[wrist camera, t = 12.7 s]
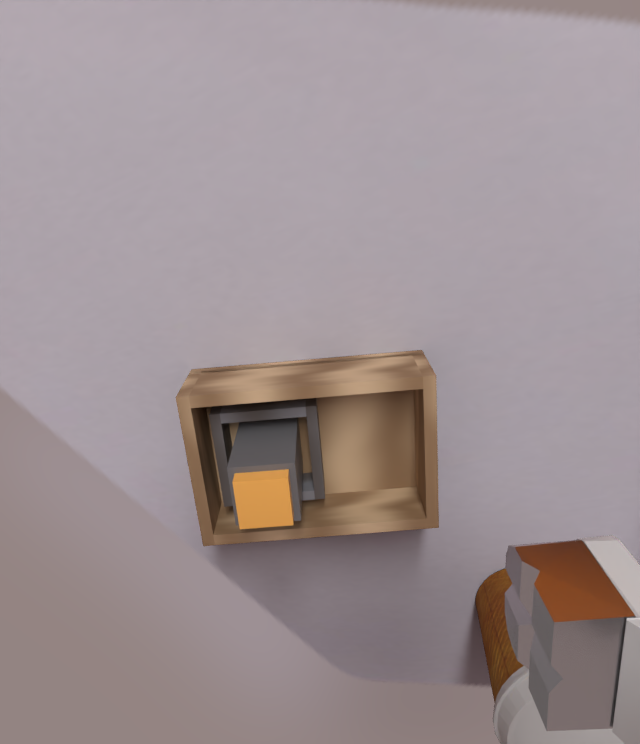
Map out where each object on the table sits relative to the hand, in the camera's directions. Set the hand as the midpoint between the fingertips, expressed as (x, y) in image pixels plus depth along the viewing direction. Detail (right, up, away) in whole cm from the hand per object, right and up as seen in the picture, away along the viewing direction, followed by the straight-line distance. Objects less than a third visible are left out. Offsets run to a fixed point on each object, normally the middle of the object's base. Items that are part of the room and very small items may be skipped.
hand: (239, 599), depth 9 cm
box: (+1, -1, +33) cm, 33 cm away
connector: (-2, -2, +33) cm, 33 cm away
